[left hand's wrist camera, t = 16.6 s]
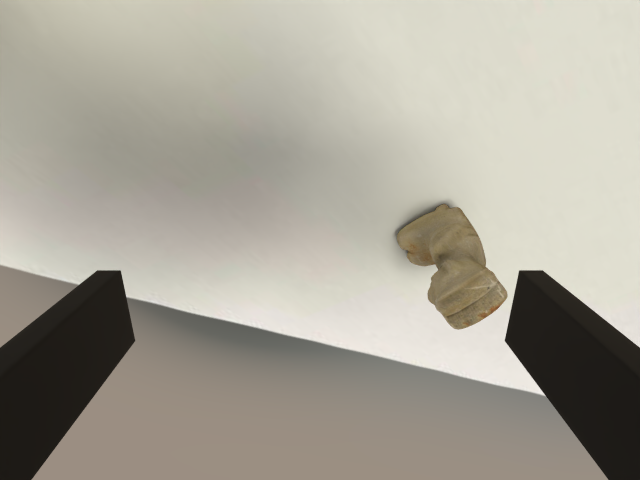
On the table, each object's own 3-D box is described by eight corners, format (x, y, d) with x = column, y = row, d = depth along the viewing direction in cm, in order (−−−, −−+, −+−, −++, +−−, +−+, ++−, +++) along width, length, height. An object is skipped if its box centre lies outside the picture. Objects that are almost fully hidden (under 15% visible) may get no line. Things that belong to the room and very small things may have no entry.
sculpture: (386, 226, 42) (420, 293, 28) (445, 189, 40) (511, 240, 26) (413, 266, 44) (457, 347, 30) (470, 232, 42) (545, 301, 28)
